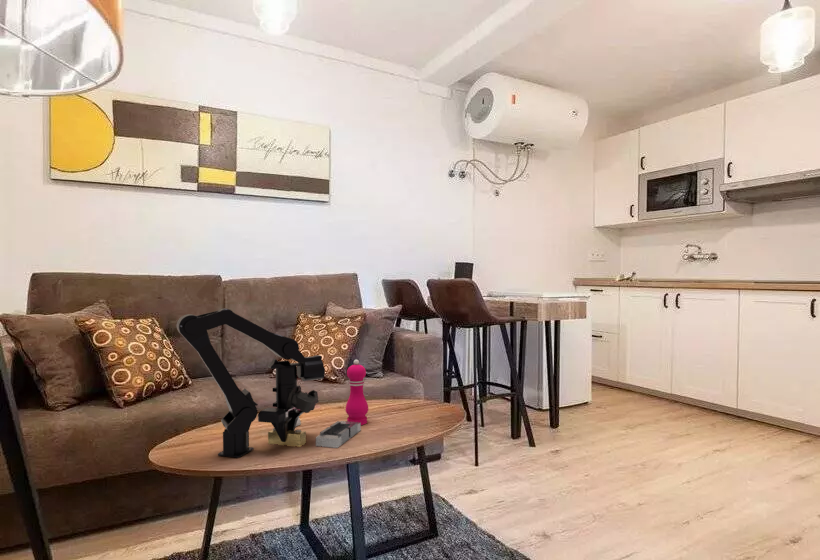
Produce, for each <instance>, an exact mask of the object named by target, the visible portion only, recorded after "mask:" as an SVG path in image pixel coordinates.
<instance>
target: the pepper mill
mask: <svg viewBox="0 0 820 560" xmlns="http://www.w3.org/2000/svg"><path fill="white" fill-rule="evenodd" d="M366 375H367V371H366V368H365V367H364V366H363V365H362V364H360V361H359V359H354V361H353V364H352V365H350V366H349V367H347V371H346V376H347V378H348V379H349V380H348V385H349V388H350V391H349V397H348V399H347V401H346V403H345V414H346V415H347V416H348V417H347V419H346V421H347V422H361V426H363V425H366V424H367V423H368V417H367V413H368V412H369V404H368V401H367V400H366V397H365V395H364V394H365V393H364V385H365V384H366V383H365V379H364V378H365V377H366Z"/></svg>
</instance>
